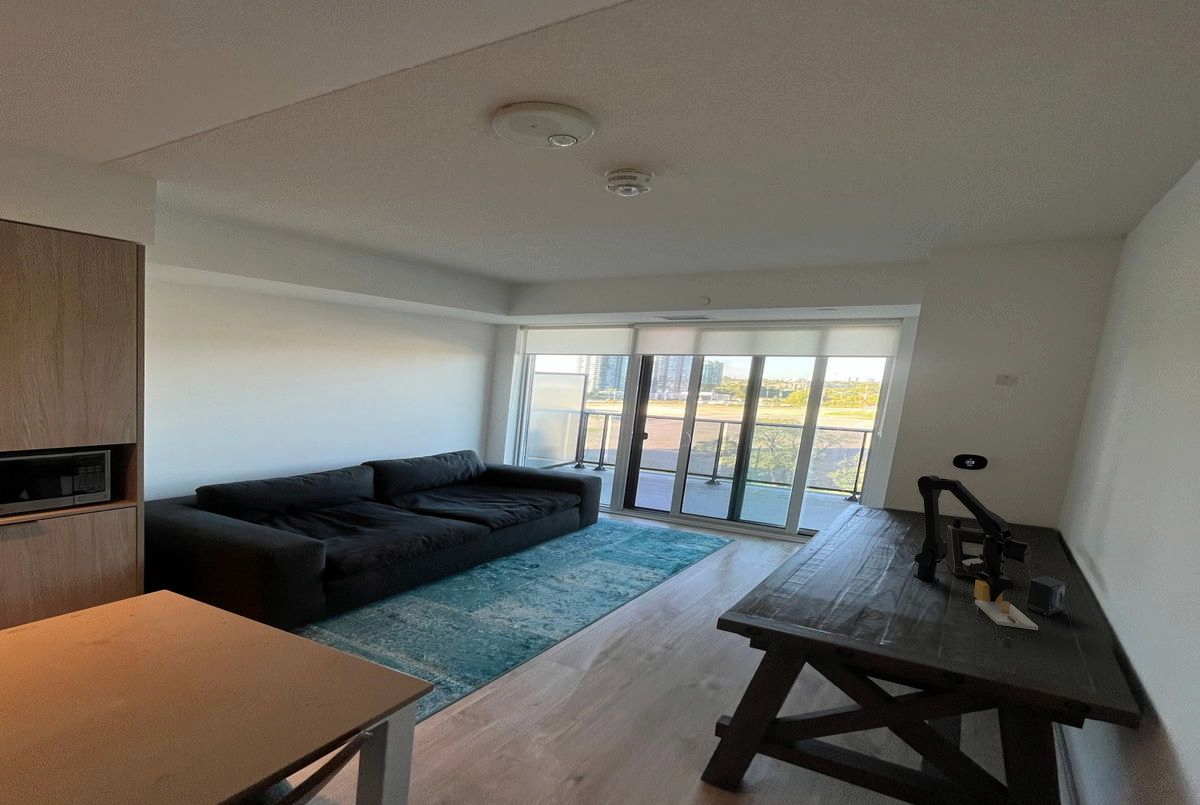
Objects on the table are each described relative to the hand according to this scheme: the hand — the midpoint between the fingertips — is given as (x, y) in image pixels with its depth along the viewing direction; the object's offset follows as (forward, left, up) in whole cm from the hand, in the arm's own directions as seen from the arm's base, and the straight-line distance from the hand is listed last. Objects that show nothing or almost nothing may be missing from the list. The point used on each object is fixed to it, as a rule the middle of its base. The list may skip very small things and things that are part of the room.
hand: (987, 597), depth 187 cm
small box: (-11, +12, -1) cm, 16 cm away
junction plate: (+8, +9, -1) cm, 12 cm away
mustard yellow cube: (0, 0, -1) cm, 1 cm away
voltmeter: (-23, -17, -1) cm, 29 cm away
